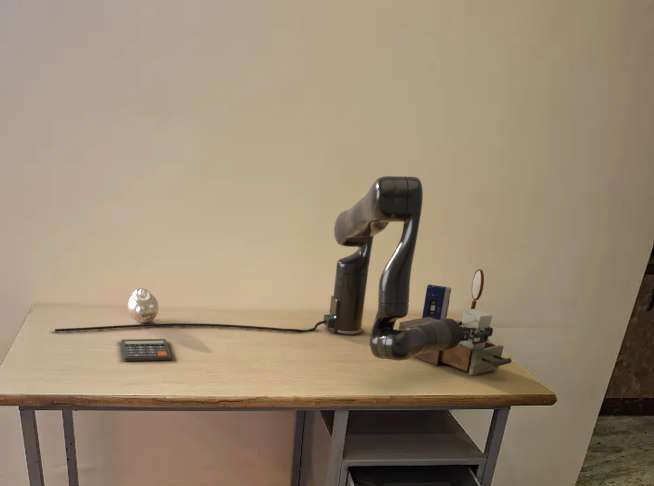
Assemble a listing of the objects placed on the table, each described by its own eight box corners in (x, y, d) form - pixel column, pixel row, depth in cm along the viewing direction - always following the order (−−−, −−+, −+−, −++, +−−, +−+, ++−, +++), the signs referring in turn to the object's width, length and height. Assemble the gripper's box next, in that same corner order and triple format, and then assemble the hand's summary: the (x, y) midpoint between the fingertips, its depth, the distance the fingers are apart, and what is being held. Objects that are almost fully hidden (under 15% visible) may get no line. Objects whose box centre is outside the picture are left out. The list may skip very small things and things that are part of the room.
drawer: (514, 374, 182) (519, 351, 179) (487, 381, 176) (492, 357, 173) (456, 352, 195) (460, 331, 192) (430, 358, 188) (433, 336, 185)
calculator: (123, 357, 174) (121, 338, 186) (124, 360, 174) (121, 342, 187) (171, 356, 177) (165, 338, 189) (171, 359, 177) (165, 341, 190)
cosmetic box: (454, 355, 186) (463, 309, 180) (466, 353, 188) (475, 308, 182) (470, 362, 182) (480, 315, 176) (483, 360, 184) (493, 314, 178)
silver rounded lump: (122, 325, 201) (120, 289, 196) (135, 316, 209) (134, 282, 204) (152, 328, 199) (151, 293, 194) (164, 320, 207) (163, 285, 202)
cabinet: (465, 358, 193) (471, 331, 189) (436, 365, 187) (441, 337, 183) (424, 343, 203) (429, 316, 200) (395, 349, 197) (399, 322, 193)
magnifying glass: (473, 342, 207) (487, 273, 197) (467, 342, 207) (481, 272, 197) (466, 333, 214) (479, 266, 204) (460, 333, 214) (474, 266, 204)
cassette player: (420, 323, 221) (427, 284, 215) (422, 321, 223) (428, 283, 217) (443, 327, 219) (450, 288, 213) (445, 325, 221) (452, 286, 215)
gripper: (463, 328, 166) (506, 320, 176) (418, 313, 176) (461, 306, 185) (457, 358, 170) (499, 349, 179) (414, 342, 180) (455, 334, 189)
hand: (480, 327), depth 182 cm, fingers closed on cosmetic box, 6 cm apart
